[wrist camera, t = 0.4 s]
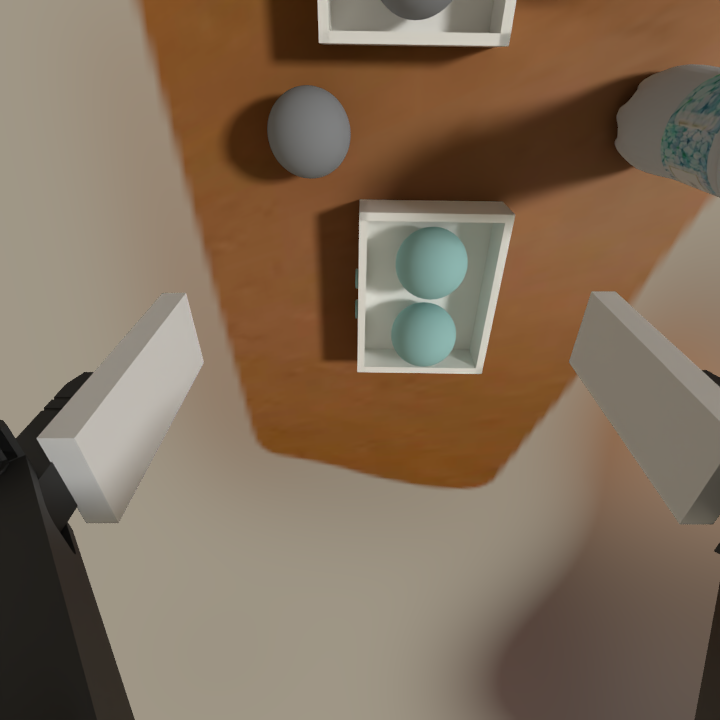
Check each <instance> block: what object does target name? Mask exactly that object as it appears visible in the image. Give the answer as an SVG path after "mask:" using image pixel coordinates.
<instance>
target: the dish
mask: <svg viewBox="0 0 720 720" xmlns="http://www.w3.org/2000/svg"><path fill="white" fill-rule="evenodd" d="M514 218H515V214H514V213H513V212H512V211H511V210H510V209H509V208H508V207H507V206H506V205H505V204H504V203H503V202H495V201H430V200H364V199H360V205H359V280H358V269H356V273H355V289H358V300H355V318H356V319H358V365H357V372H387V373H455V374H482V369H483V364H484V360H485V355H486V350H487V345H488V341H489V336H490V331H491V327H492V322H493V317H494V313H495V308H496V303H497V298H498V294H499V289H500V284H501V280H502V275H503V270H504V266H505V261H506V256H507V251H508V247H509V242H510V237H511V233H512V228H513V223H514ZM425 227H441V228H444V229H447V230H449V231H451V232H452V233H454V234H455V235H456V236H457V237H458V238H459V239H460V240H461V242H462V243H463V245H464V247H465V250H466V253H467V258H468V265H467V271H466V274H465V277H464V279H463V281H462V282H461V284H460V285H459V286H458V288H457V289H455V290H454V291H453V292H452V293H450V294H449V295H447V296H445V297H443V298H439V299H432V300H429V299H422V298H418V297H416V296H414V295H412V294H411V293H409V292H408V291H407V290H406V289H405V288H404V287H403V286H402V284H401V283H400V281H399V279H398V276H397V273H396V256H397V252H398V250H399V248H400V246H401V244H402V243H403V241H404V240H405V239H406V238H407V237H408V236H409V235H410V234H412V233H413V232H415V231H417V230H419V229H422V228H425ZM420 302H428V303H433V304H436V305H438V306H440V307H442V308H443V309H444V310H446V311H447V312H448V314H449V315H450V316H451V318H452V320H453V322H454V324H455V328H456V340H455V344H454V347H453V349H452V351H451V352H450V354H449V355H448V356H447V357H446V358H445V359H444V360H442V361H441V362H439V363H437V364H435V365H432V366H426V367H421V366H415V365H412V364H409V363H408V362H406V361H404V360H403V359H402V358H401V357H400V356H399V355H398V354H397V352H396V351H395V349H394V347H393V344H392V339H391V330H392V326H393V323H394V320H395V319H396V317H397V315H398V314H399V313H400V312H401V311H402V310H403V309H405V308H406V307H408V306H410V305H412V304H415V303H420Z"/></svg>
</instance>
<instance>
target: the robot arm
mask: <svg viewBox="0 0 720 720" xmlns="http://www.w3.org/2000/svg"><path fill="white" fill-rule="evenodd" d="M203 363H204V362H203V358H202V354H201V350H200V346H199V342H198V338H197V334H196V330H195V326H194V322H193V318H192V315H191V311H190V307H189V303H188V299H187V295H186V293H162V294H161V295H160V297H159V298H158V299H157V300H156V301H155V302H154V304H153V305H152V306H151V307H150V308H149V309H148V310H147V312H146V313H145V314H144V315H143V316H142V317H141V319H140V320H139V321H138V322H137V323H136V324H135V325H134V327H133V328H132V329H131V330H130V331H129V332H128V333H127V335H126V336H125V337H124V338H123V339H122V340H121V341H120V343H119V344H118V345H117V346H116V347H115V348H114V350H113V351H112V352H111V353H110V354H109V355H108V357H107V358H106V359H105V360H104V361H103V362H102V363H101V365H100V366H99V367H98V368H97V369H96V370H95V371H94V372H84V373H83V374H81V375H79V376H78V377H76V378H75V379H73V380H72V381H70V382H68V383H67V384H66V385H65V386H64V387H63V388H62V389H61V390H60V391H59V392H58V393H57V395H56V396H55V397H54V400H51V401H50V402H49V403H48V404H47V405H46V406H45V407H44V411H41V412H40V413H39V414H38V415H37V416H36V417H35V418H34V419H33V421H32V422H31V423H30V424H29V425H28V426H27V427H26V428H25V429H24V430H23V431H22V432H21V434H20V435H19V436H18V437H17V438H16V439H15V437H14V436H13V434H12V432H11V431H10V429H9V428H8V426H7V425H6V424H5V422H4V421H3V420H0V720H135V719H134V716H133V713H132V710H131V707H130V704H129V701H128V698H127V695H126V692H125V689H124V685H123V682H122V679H121V676H120V673H119V670H118V667H117V664H116V661H115V658H114V655H113V652H112V649H111V646H110V643H109V640H108V637H107V634H106V630H105V627H104V624H103V621H102V618H101V615H100V612H99V609H98V606H97V603H96V600H95V597H94V594H93V591H92V588H91V585H90V582H89V579H88V576H87V573H86V569H85V566H84V563H83V560H82V557H81V554H80V551H79V548H78V545H77V542H76V539H75V536H74V533H73V530H72V528H71V527H70V525H69V524H68V520H69V519H70V517H71V515H72V514H73V512H74V511H75V509H76V508H78V510H79V512H80V513H81V515H82V517H83V519H84V520H85V522H86V523H119V521H120V519H121V517H122V515H123V514H124V512H125V510H126V508H127V506H128V504H129V502H130V500H131V499H132V497H133V495H134V493H135V490H136V489H137V487H138V485H139V483H140V482H141V479H142V478H143V476H144V474H145V472H146V470H147V468H148V466H149V465H150V463H151V461H152V459H153V457H154V455H155V453H156V452H157V450H158V448H159V446H160V444H161V442H162V440H163V438H164V436H165V434H166V433H167V431H168V429H169V427H170V425H171V423H172V421H173V420H174V418H175V416H176V414H177V412H178V410H179V408H180V406H181V404H182V403H183V401H184V399H185V397H186V395H187V393H188V391H189V389H190V388H191V385H192V383H193V382H194V380H195V378H196V376H197V374H198V372H199V371H200V369H201V367H202V365H203ZM569 363H570V364H571V366H572V367H573V369H574V370H575V372H576V373H577V374H578V376H579V377H580V379H581V380H582V382H583V383H584V385H585V386H586V388H587V389H588V391H589V392H590V393H591V395H592V396H593V398H594V399H595V401H596V402H597V404H598V405H599V407H600V408H601V410H602V411H603V413H604V414H605V415H606V417H607V418H608V420H609V421H610V423H611V424H612V426H613V427H614V429H615V430H616V431H617V433H618V435H619V436H620V437H621V439H622V440H623V442H624V443H625V445H626V446H627V448H628V449H629V451H630V452H631V454H632V455H633V456H634V458H635V459H636V461H637V462H638V464H639V465H640V467H641V468H642V470H643V471H644V473H645V474H646V476H647V477H648V478H649V480H650V481H651V483H652V484H653V486H654V487H655V489H656V490H657V492H658V493H659V495H660V496H661V498H662V499H663V500H664V502H665V503H666V505H667V506H668V508H669V509H670V511H671V512H672V514H673V515H674V517H675V518H676V519H677V521H678V522H679V524H714V522H715V521H716V520H717V518H718V517H719V515H720V377H718V376H716V375H714V374H712V373H711V372H709V371H707V370H700V368H698V367H697V366H696V365H695V364H694V363H693V362H692V361H691V360H690V359H689V358H687V357H686V356H685V355H684V354H683V353H682V352H681V351H680V350H679V349H677V347H675V346H674V345H673V344H672V343H671V342H670V341H669V340H668V339H667V338H666V337H664V336H663V335H662V334H661V333H660V332H659V331H658V330H657V329H656V328H654V326H653V325H651V324H650V323H649V322H648V321H647V320H646V319H645V318H644V317H642V315H640V314H639V313H638V312H637V311H636V310H635V309H634V308H633V307H632V306H631V305H630V304H628V303H627V302H626V301H625V300H624V299H623V298H622V297H621V296H620V295H619V294H618V293H616V292H591V295H590V298H589V301H588V304H587V307H586V311H585V314H584V317H583V320H582V323H581V326H580V329H579V332H578V336H577V339H576V342H575V345H574V348H573V351H572V354H571V357H570V361H569ZM714 551H715V552H717V553H719V554H720V543H719V544H718V546H717V547H716V549H715V550H714ZM695 720H720V585H719V590H718V596H717V601H716V606H715V612H714V617H713V622H712V628H711V634H710V639H709V644H708V650H707V655H706V661H705V667H704V672H703V677H702V682H701V688H700V693H699V698H698V704H697V709H696V715H695Z"/></svg>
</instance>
